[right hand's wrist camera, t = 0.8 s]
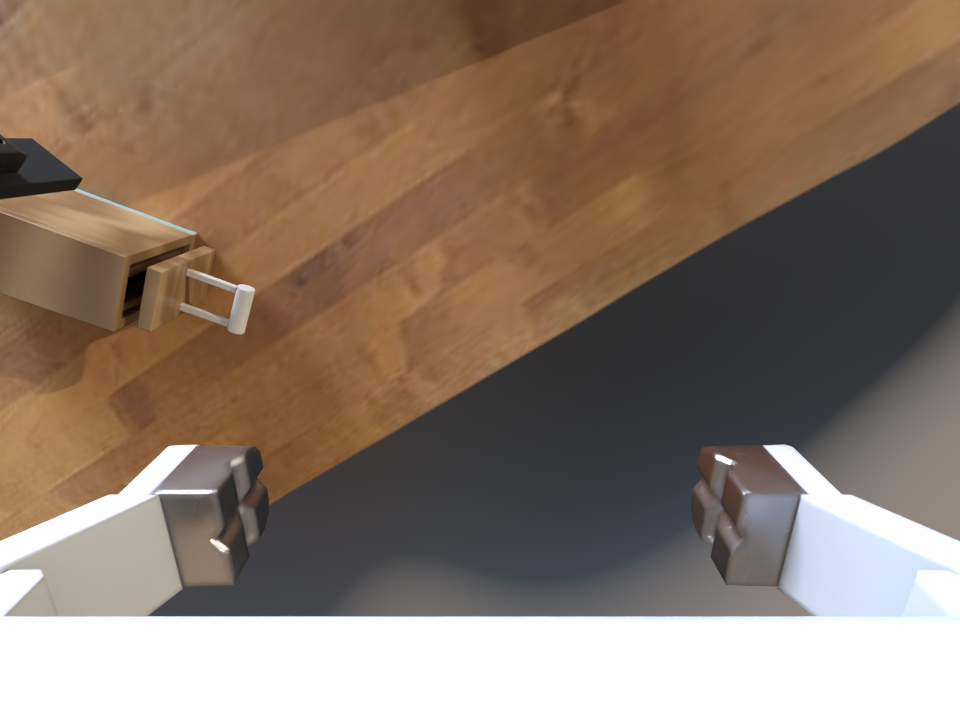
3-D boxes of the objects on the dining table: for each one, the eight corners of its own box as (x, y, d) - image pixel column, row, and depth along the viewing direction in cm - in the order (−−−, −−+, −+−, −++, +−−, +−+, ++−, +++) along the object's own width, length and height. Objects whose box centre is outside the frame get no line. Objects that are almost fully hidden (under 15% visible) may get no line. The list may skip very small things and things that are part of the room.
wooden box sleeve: (197, 233, 54) (125, 256, 43) (184, 295, 56) (113, 332, 45) (-15, 154, 51) (-150, 157, 40) (-19, 222, 54) (-148, 243, 43)
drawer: (276, 272, 54) (235, 298, 45) (263, 321, 56) (221, 356, 47) (17, 176, 51) (-85, 184, 42) (12, 232, 53) (-86, 251, 44)
